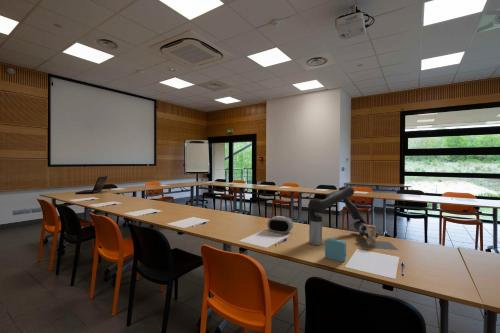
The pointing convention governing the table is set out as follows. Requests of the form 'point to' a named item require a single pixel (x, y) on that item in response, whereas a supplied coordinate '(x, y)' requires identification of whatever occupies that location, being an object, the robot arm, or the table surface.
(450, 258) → the table surface
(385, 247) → the charcoal mat
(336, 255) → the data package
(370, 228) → the maple block
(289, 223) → the alarm clock
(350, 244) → the table surface
